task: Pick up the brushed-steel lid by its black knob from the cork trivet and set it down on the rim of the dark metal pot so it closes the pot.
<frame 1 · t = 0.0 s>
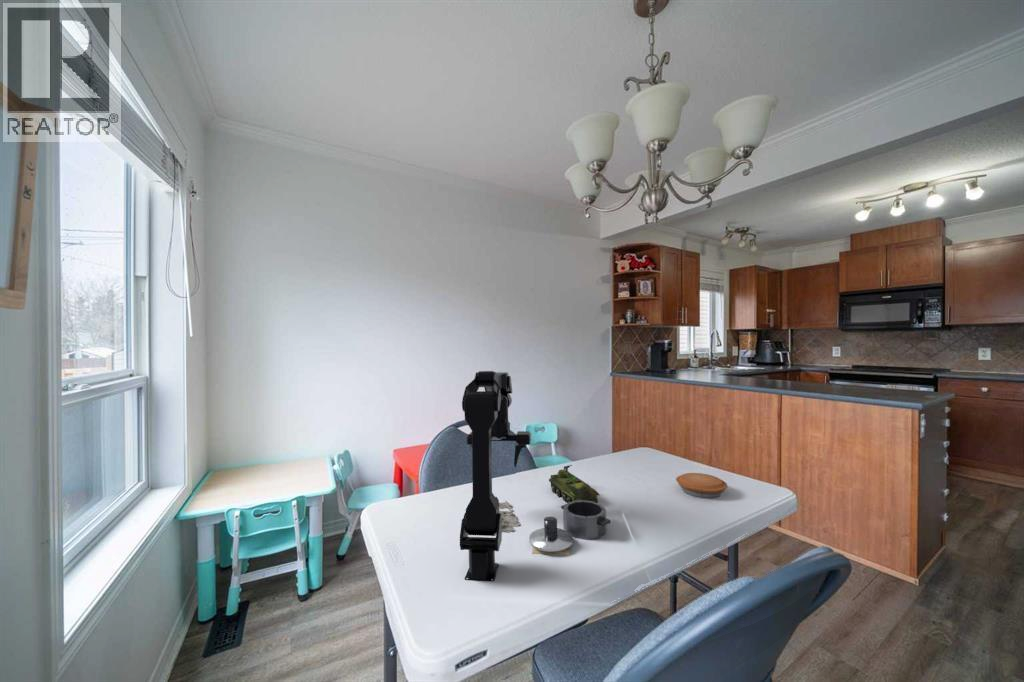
hand: (499, 466, 109), 15 cm above the table, fingers open, 9 cm apart
trivet: (551, 546, 91), on the table
toy vehicle: (573, 497, 123), on the table
pie: (701, 493, 124), on the table
lid: (551, 544, 91), point 1 cm above the table, touching trivet
stone fragment: (501, 518, 109), on the table
pot: (585, 531, 99), on the table
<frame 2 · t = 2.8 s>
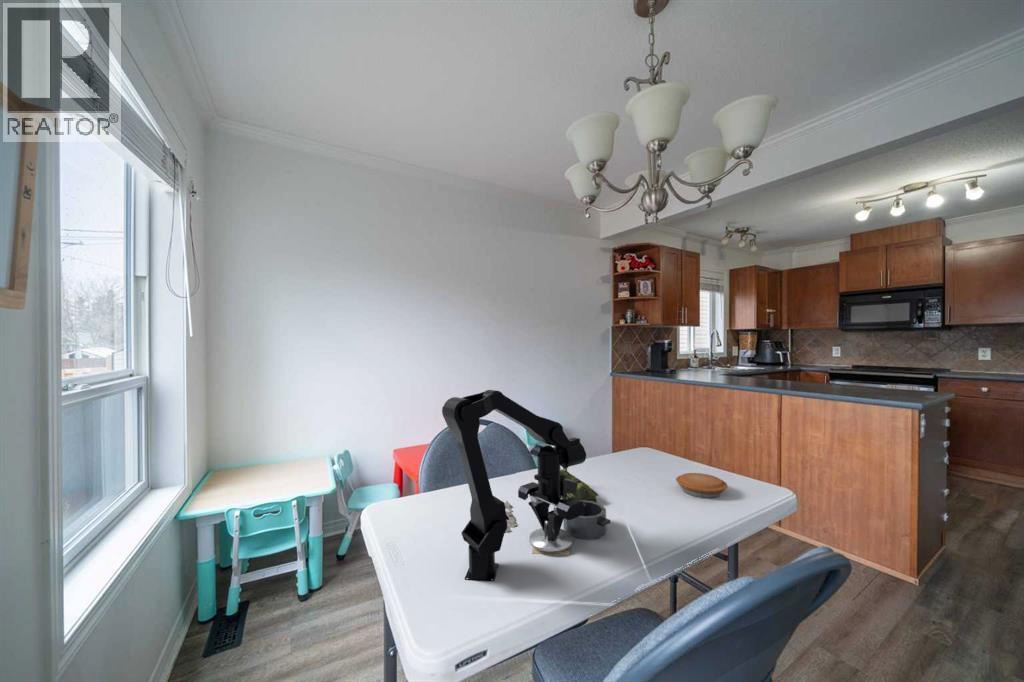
hand: (550, 534, 91), 3 cm above the table, fingers closed on lid, 3 cm apart
lid: (551, 544, 91), point 1 cm above the table, touching gripper, trivet
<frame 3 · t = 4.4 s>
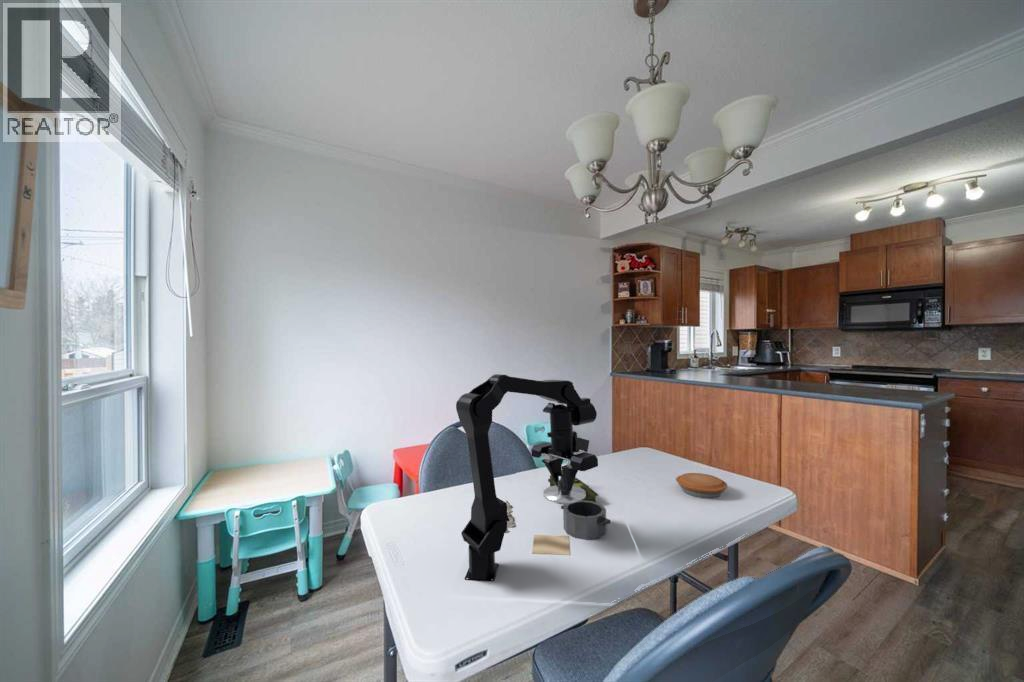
hand: (564, 488, 95), 13 cm above the table, fingers closed on lid, 3 cm apart
lid: (564, 498, 95), point 11 cm above the table, touching gripper
everything else where it was.
when the fingers open (8 cm above the table, at t = 6.1 s): lid stays where it is, resting on pot.
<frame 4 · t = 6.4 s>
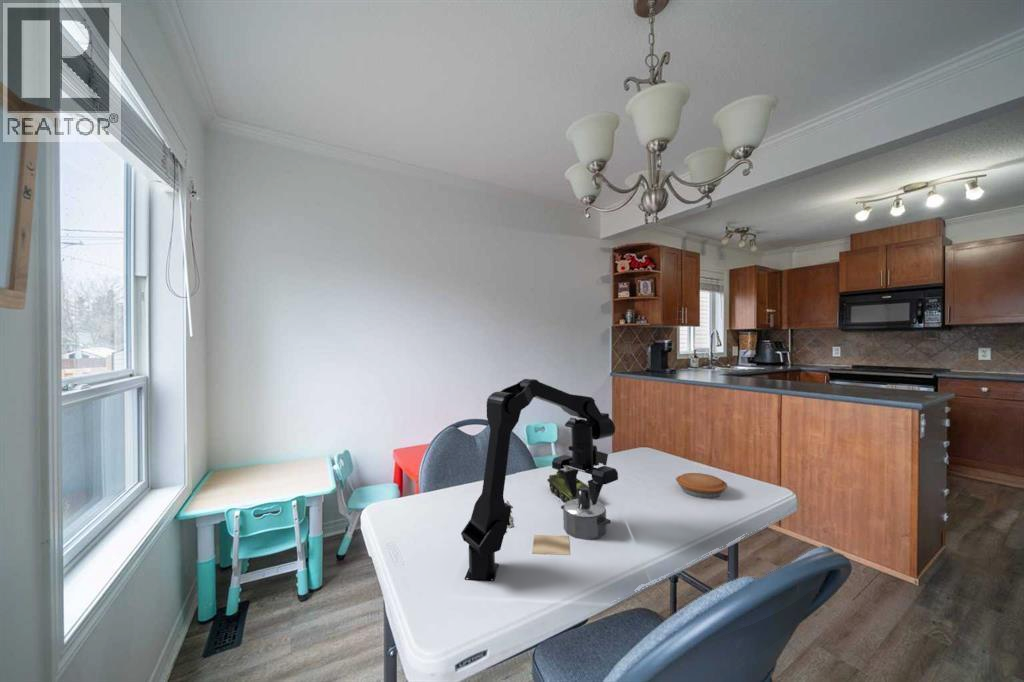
hand: (584, 500, 99), 8 cm above the table, fingers open, 7 cm apart
lid: (584, 512, 99), point 5 cm above the table, touching pot
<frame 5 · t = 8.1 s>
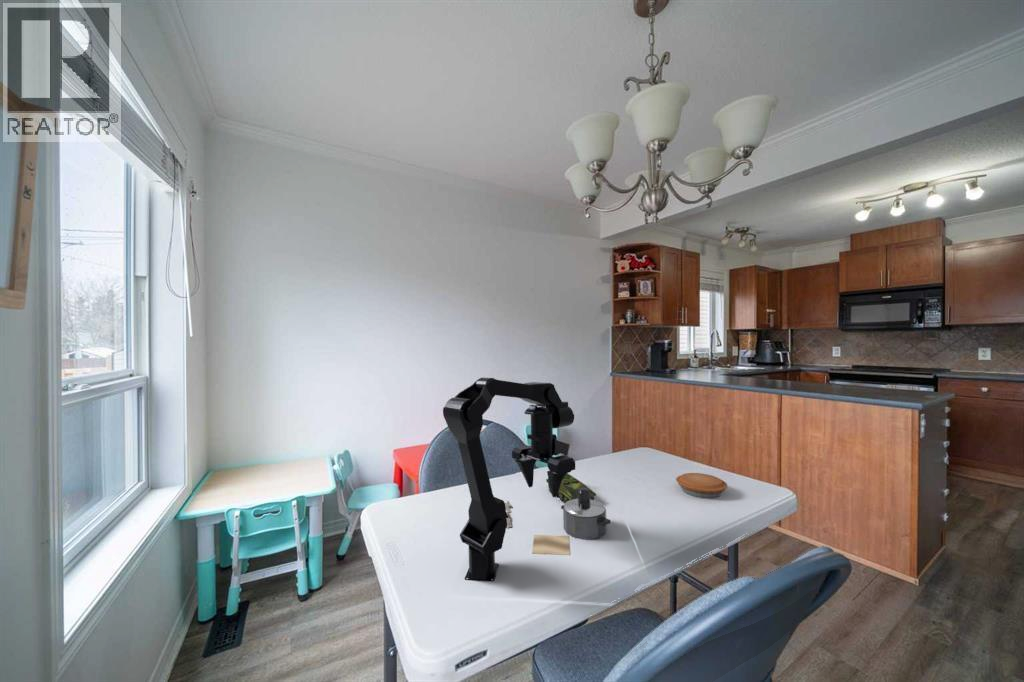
hand: (542, 491, 95), 12 cm above the table, fingers open, 9 cm apart
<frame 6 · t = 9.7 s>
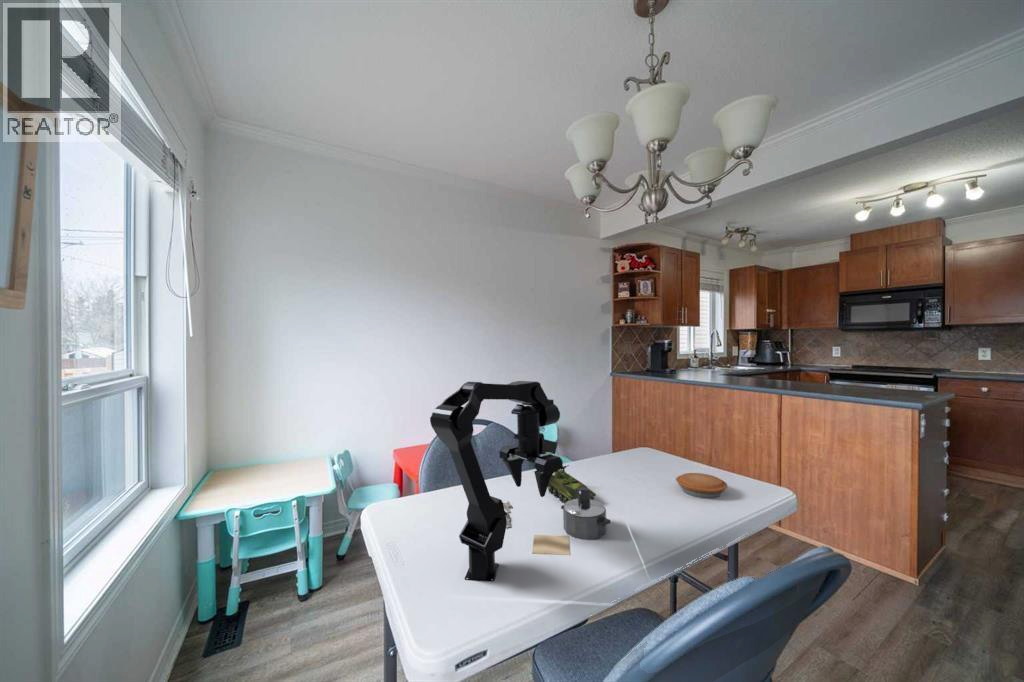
hand: (530, 491, 94), 13 cm above the table, fingers open, 9 cm apart
at the end: lid 0.0 cm off-centre on the pot, point 5.0 cm above the pot's base; lid tilted 0°; the gripper is holding nothing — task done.
